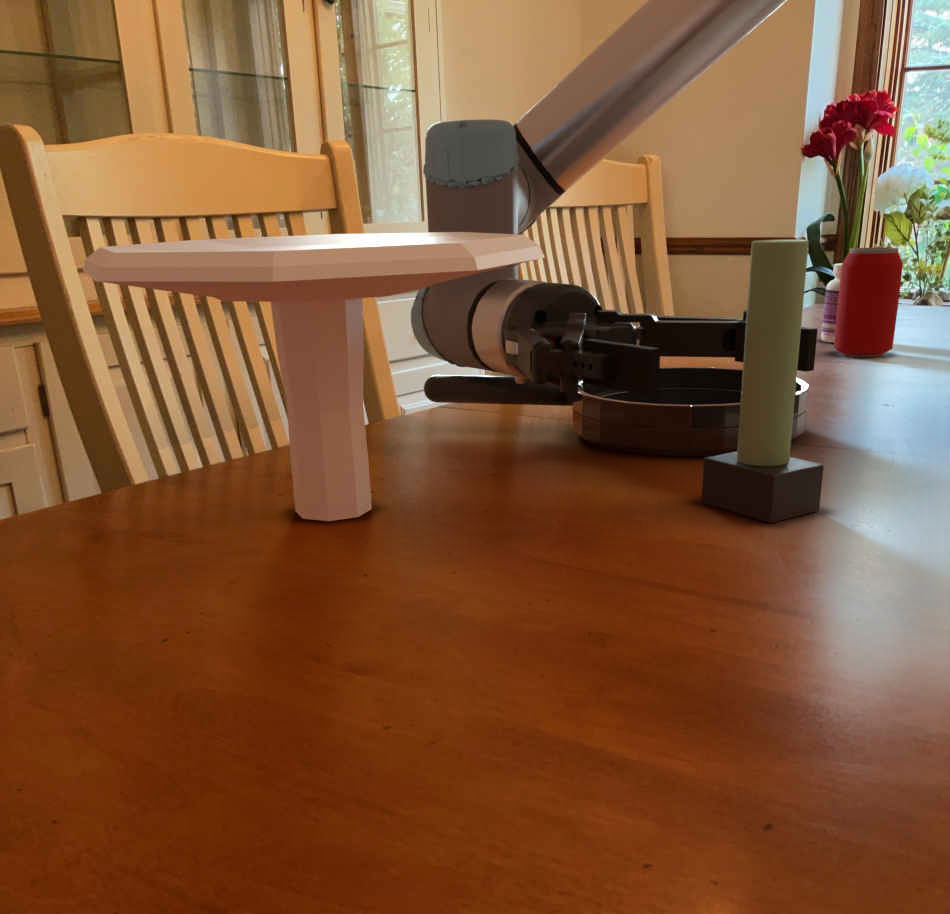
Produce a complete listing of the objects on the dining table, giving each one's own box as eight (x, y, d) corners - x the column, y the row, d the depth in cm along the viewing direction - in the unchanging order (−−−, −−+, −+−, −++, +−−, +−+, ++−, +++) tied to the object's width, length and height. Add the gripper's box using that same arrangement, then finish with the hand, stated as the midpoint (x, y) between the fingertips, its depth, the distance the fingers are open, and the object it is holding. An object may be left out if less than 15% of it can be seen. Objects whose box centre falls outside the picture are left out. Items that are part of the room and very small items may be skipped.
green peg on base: (700, 502, 68) (715, 241, 62) (748, 491, 70) (767, 238, 64) (770, 523, 63) (793, 243, 57) (819, 511, 66) (847, 239, 59)
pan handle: (585, 403, 91) (586, 375, 90) (580, 408, 89) (580, 379, 88) (429, 399, 95) (428, 372, 94) (420, 404, 93) (419, 376, 92)
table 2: (35, 518, 69) (-18, 250, 63) (362, 444, 87) (347, 231, 81) (284, 623, 51) (245, 259, 44) (633, 502, 69) (641, 231, 62)
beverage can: (896, 351, 127) (909, 247, 122) (885, 359, 122) (899, 250, 117) (839, 349, 130) (850, 247, 126) (826, 356, 125) (837, 250, 120)
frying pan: (804, 413, 94) (808, 368, 92) (802, 463, 77) (808, 409, 75) (594, 408, 99) (594, 365, 98) (549, 453, 82) (549, 402, 81)
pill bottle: (848, 345, 134) (857, 265, 130) (812, 341, 137) (819, 264, 134) (871, 340, 137) (880, 262, 133) (835, 337, 141) (843, 261, 137)
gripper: (659, 364, 90) (862, 397, 73) (404, 399, 78) (578, 448, 61) (662, 272, 87) (875, 284, 70) (398, 293, 75) (579, 314, 58)
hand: (737, 360), depth 65 cm, fingers open, 13 cm apart
